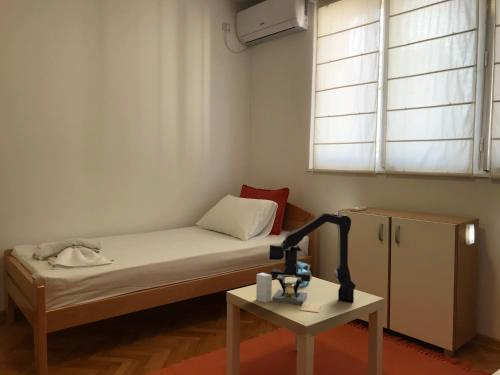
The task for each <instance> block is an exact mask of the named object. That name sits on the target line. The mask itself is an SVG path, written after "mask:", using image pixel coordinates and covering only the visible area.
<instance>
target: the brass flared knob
mask: <svg viewBox="0 0 500 375" xmlns="http://www.w3.org/2000/svg"><path fill="white" fill-rule="evenodd" d="M293 282H294V281H291V282H290V281H289V282H285V283H284V286H285V295H284V297H286V298H294V299H296V298H297V297H296V294H295V288H296V283H293Z"/></svg>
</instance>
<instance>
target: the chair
mask: <svg viewBox="0 0 500 375" xmlns="http://www.w3.org/2000/svg"><path fill="white" fill-rule="evenodd" d="M297 265H299V272H298V273H297V274H302V273H303V272H309V273H311V274H312V272H311V271H310V268H311V264H308V263H305V262H302V261H297ZM305 267H307V270H306V269H305ZM296 281H297V280H296ZM296 281H292V282H293V283H296ZM308 285H310V281H309V282H307V281H303V283H301V284H300V285H299V288H303V287H306V286H308Z"/></svg>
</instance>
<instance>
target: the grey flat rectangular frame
mask: <svg viewBox="0 0 500 375" xmlns="http://www.w3.org/2000/svg"><path fill="white" fill-rule="evenodd" d="M307 298H308V292H303V291H297V294H296V297H295V299H294V298H286V297H285V293H284V292H283V289H277V291H275V293H274V294H273V296H272V297H271V301H272V302H275V303H276V302H277V303H283V304H291V305H300V306H302V305H303V303H304V304H305V301H306V300H307Z"/></svg>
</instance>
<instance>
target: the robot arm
mask: <svg viewBox="0 0 500 375" xmlns="http://www.w3.org/2000/svg"><path fill="white" fill-rule="evenodd" d="M326 223H330V224H334V225H335V226H336V229H337V233H338V234H337V235H338V256H337V258H338V263H337V266H334V267H333V269H334V273H333V276H334V277H335V279H336V280H337V282H338V284H339V288H338V292H337V294H338V295H337V296H338V297H337V299H338V301H339V302H345V303H354V300H355V297H354V296H355V289H356V284H355V282H354V281H352V279H351V278H352V277H351V272H350V268H349V264H348V263H349V262H348V261H349V257H348V256H349V234H350V231H351V226H352V219H351V218H350V216H348V215H347V214H344V213H339V214H334V213H327V212H322V213H320V215H318V216H317V217H315V218H313V219H312V220H311V221H308V223H306V224H304V225H303V226H301V227H300V228H297V229H294V230H291V231H289V232H287V233H286V234H285V235H284V236H285V237H284V240H283V241H282V242H281V243H280V245H275V244H269V250H268V260H269V261H282V259H284V264H283V269H284V271H281V269H278V268H273V269H271V271H270V272H269V275H272V279H275V280H277V281H278V283H279V285H280V286H281V290H283V292H284V293H285V286H284V283H286V278H295V279H296V288H295V294H297V292H299V289H300V287H299V285H301V284H304V283H303V281H306V283H307V282H309V283H310V282H311V280H312V277H313V276H312V272H311V273H309V272H303V273H302V274H298V272H299V269H300V267H299V265H297V262H298V252H303V249H302V248H301V247H300V246H299V245H298V244H299V243H301V242H302V241H303V240H304V238H305V237H306V236H307V235H309V234H311V233H313V232H314V231H315V230H317V229H318V228H320V227H321V226H323V225H324V224H326Z"/></svg>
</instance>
